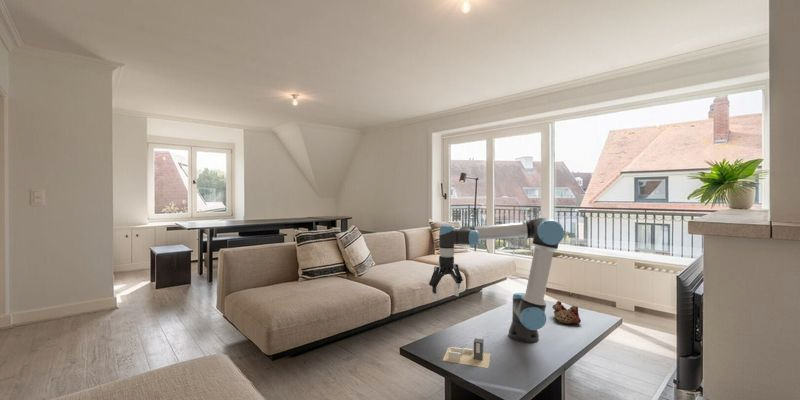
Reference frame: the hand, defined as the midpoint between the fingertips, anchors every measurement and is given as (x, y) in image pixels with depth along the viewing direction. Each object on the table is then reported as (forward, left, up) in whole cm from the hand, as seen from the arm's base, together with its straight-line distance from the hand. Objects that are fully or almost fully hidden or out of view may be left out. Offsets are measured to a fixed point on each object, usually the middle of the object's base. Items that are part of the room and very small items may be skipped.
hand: (446, 297), depth 176 cm
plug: (-18, +13, -22) cm, 31 cm away
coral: (-63, -56, -23) cm, 88 cm away
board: (-13, +14, -23) cm, 30 cm away
